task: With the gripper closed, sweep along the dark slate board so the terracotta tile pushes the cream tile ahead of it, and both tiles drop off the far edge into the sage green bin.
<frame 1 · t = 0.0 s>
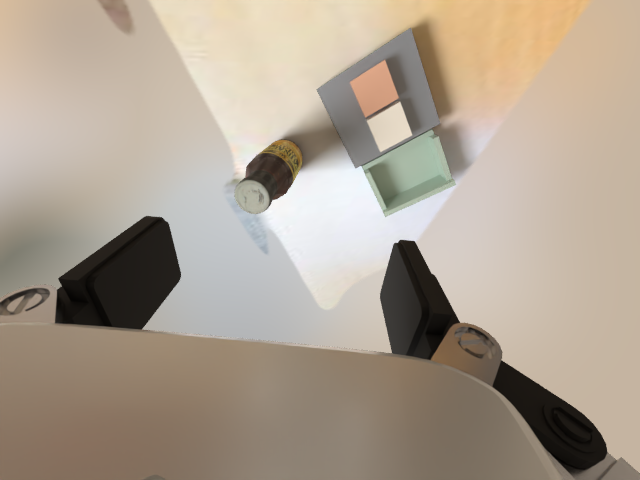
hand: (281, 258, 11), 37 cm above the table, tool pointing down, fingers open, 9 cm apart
slate board: (376, 105, 41), on the table
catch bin: (402, 169, 46), on the table
cream tile: (387, 126, 40), point 3 cm above the table, touching slate board
terracotta tile: (372, 89, 37), point 3 cm above the table, touching slate board
sauce bottle: (285, 155, 46), on the table
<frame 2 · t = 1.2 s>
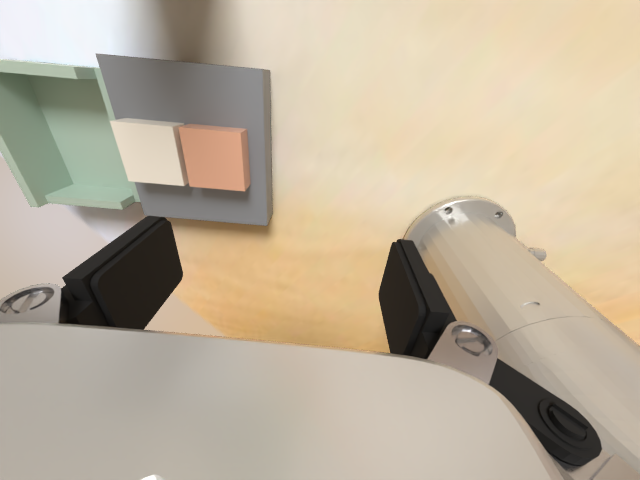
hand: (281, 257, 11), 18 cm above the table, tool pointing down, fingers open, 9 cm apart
slate board: (207, 146, 27), on the table
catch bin: (94, 135, 26), on the table
cream tile: (162, 150, 24), point 3 cm above the table, touching slate board
terracotta tile: (221, 155, 24), point 3 cm above the table, touching slate board
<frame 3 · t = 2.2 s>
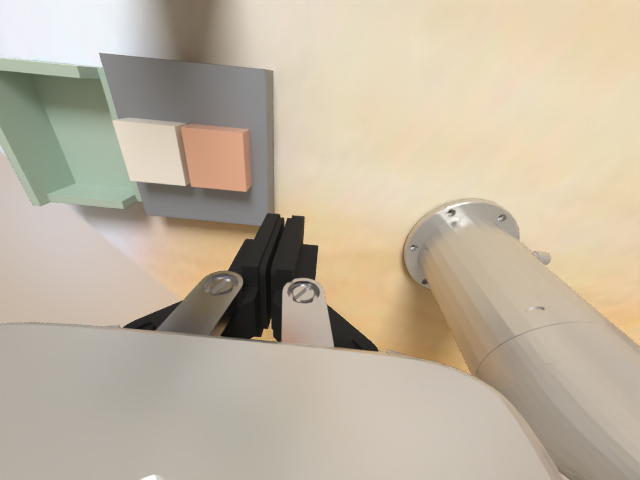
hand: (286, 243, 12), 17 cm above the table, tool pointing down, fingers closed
slate board: (209, 146, 27), on the table
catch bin: (96, 135, 26), on the table
cream tile: (164, 149, 24), point 3 cm above the table, touching slate board
terracotta tile: (223, 155, 24), point 3 cm above the table, touching slate board
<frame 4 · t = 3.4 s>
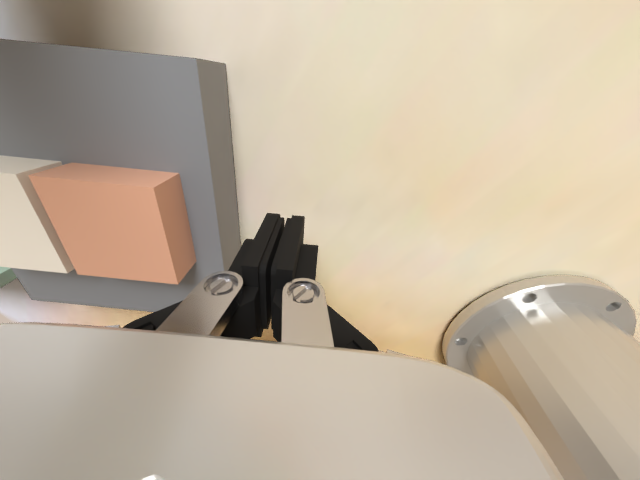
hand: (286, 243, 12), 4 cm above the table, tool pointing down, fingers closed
slate board: (131, 191, 16), on the table
cream tile: (33, 205, 13), point 3 cm above the table, touching slate board
terracotta tile: (140, 216, 13), point 3 cm above the table, touching slate board
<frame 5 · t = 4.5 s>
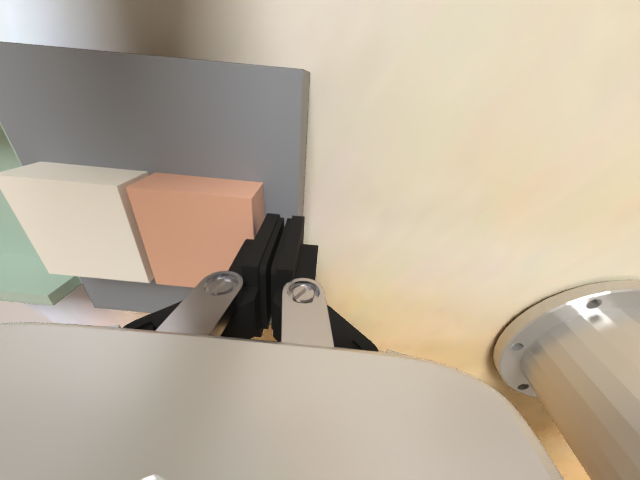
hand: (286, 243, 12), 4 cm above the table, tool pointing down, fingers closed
slate board: (197, 198, 16), on the table
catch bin: (10, 181, 16), on the table
cream tile: (112, 215, 13), point 3 cm above the table, touching slate board
terracotta tile: (216, 225, 13), point 3 cm above the table, touching gripper
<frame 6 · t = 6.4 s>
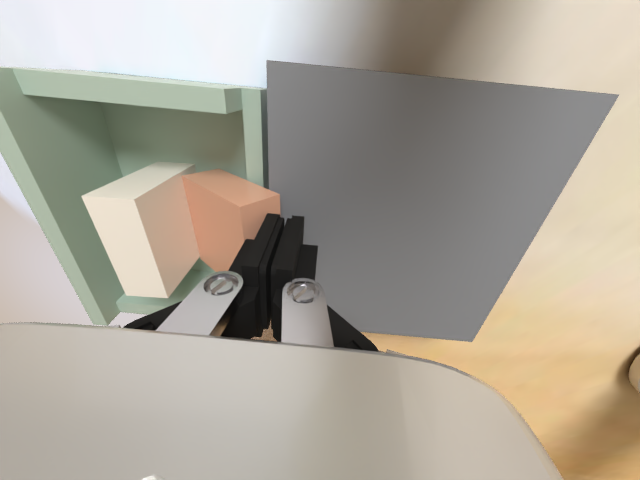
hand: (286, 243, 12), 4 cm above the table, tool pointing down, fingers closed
slate board: (387, 214, 16), on the table
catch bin: (197, 196, 16), on the table
cream tile: (182, 226, 13), point 3 cm above the table, tilted 90°, touching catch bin, terracotta tile
terracotta tile: (250, 225, 14), point 2 cm above the table, tilted 39°, touching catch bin, cream tile, gripper
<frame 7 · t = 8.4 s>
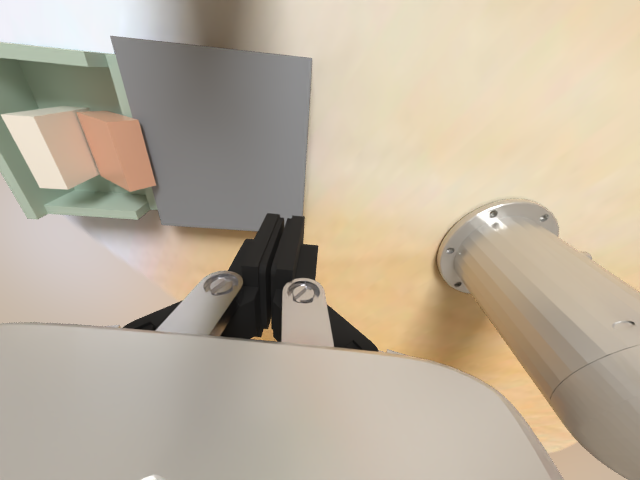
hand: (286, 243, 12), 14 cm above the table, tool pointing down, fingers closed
slate board: (234, 145, 23), on the table
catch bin: (100, 134, 23), on the table
cream tile: (79, 147, 20), point 3 cm above the table, tilted 90°, touching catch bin
terracotta tile: (131, 148, 21), point 2 cm above the table, tilted 35°, touching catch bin, slate board
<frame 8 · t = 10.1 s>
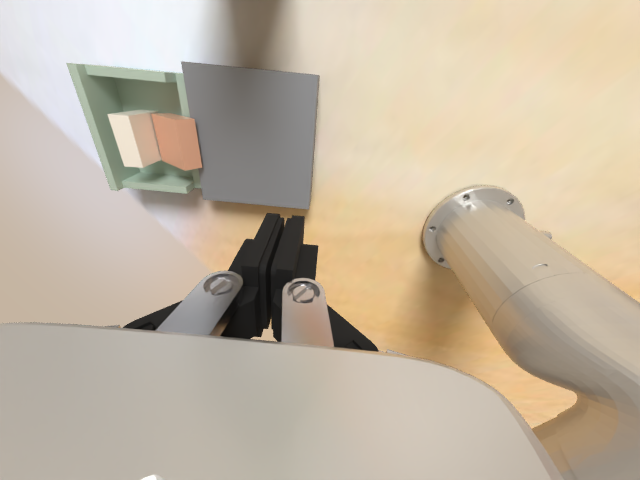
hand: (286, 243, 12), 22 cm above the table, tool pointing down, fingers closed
slate board: (259, 139, 31), on the table
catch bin: (162, 130, 31), on the table
cream tile: (150, 138, 28), point 3 cm above the table, tilted 90°, touching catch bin
terracotta tile: (186, 140, 29), point 2 cm above the table, tilted 35°, touching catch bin, slate board
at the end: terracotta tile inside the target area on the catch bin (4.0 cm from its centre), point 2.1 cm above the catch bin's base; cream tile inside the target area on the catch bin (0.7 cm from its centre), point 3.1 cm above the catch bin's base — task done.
